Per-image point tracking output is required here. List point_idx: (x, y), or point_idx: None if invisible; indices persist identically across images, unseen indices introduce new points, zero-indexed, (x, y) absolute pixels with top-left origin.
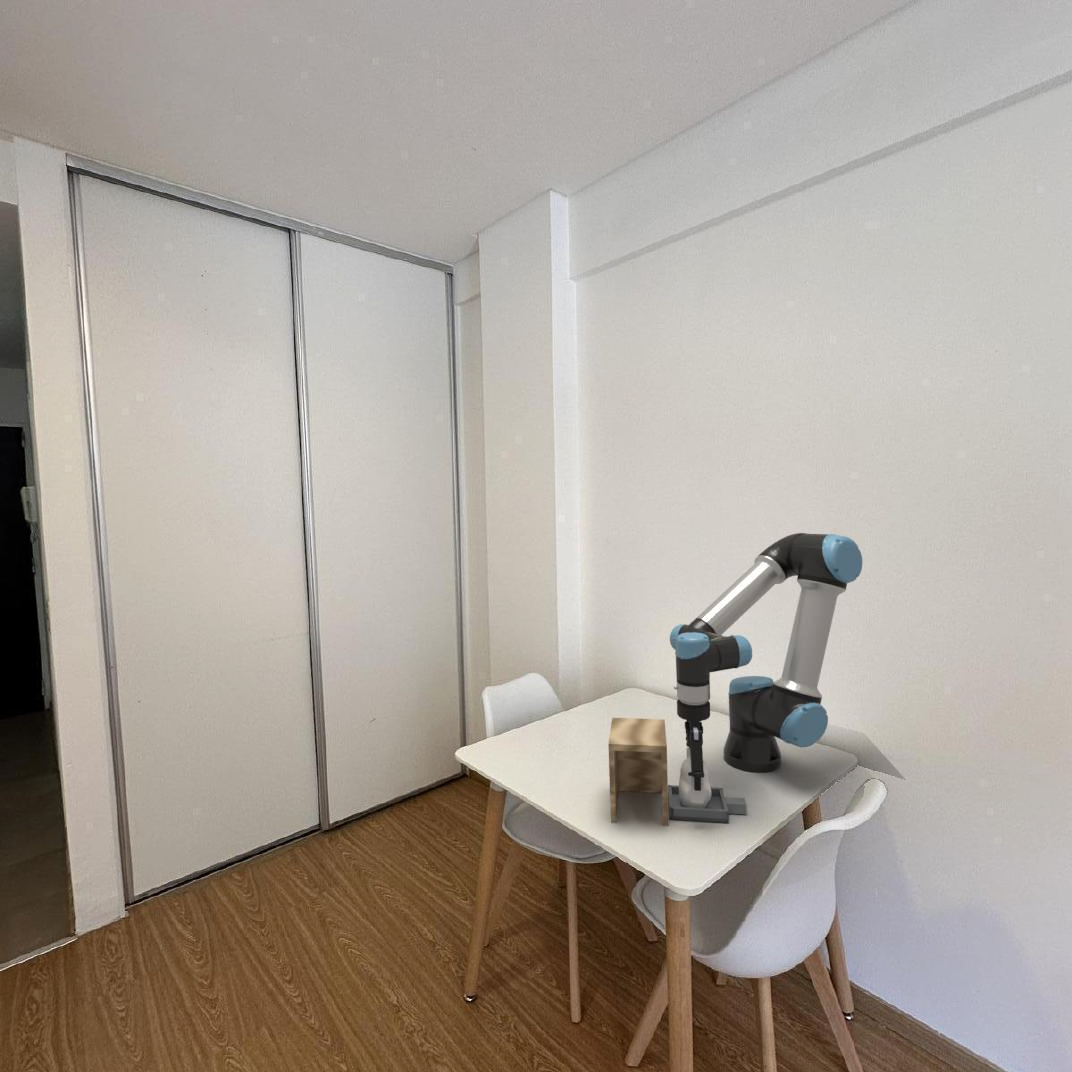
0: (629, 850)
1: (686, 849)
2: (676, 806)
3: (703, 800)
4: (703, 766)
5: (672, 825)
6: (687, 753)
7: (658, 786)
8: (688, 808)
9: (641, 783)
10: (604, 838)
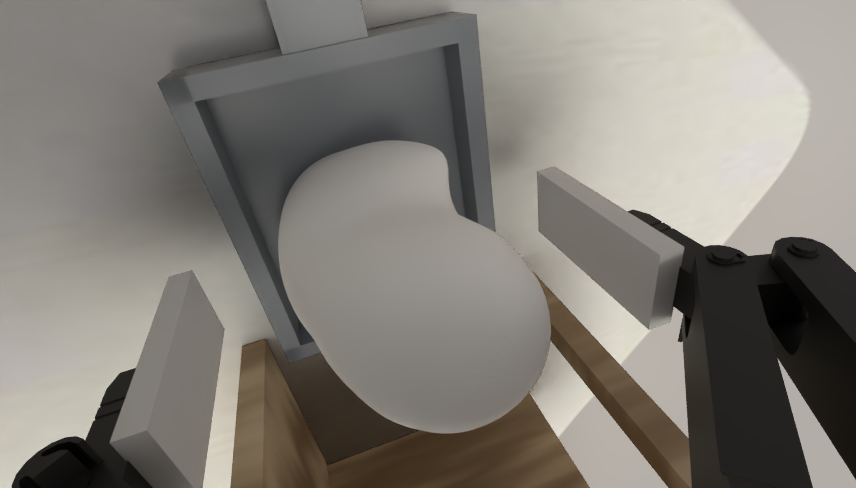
0: None
1: (650, 166)
2: None
3: (564, 173)
4: (517, 283)
5: (513, 246)
6: (202, 453)
7: (277, 385)
8: (487, 224)
9: (303, 442)
10: None
